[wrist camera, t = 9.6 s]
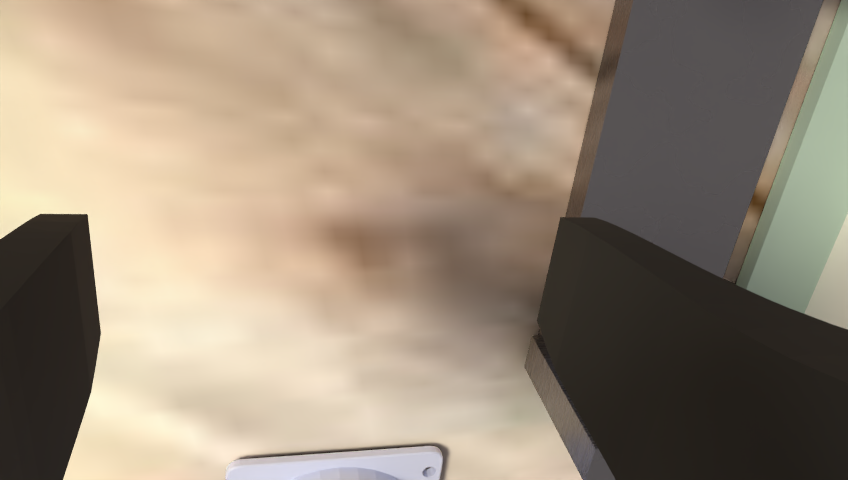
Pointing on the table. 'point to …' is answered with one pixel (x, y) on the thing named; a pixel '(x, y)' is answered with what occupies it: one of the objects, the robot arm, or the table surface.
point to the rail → (833, 285)
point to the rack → (678, 142)
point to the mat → (806, 187)
